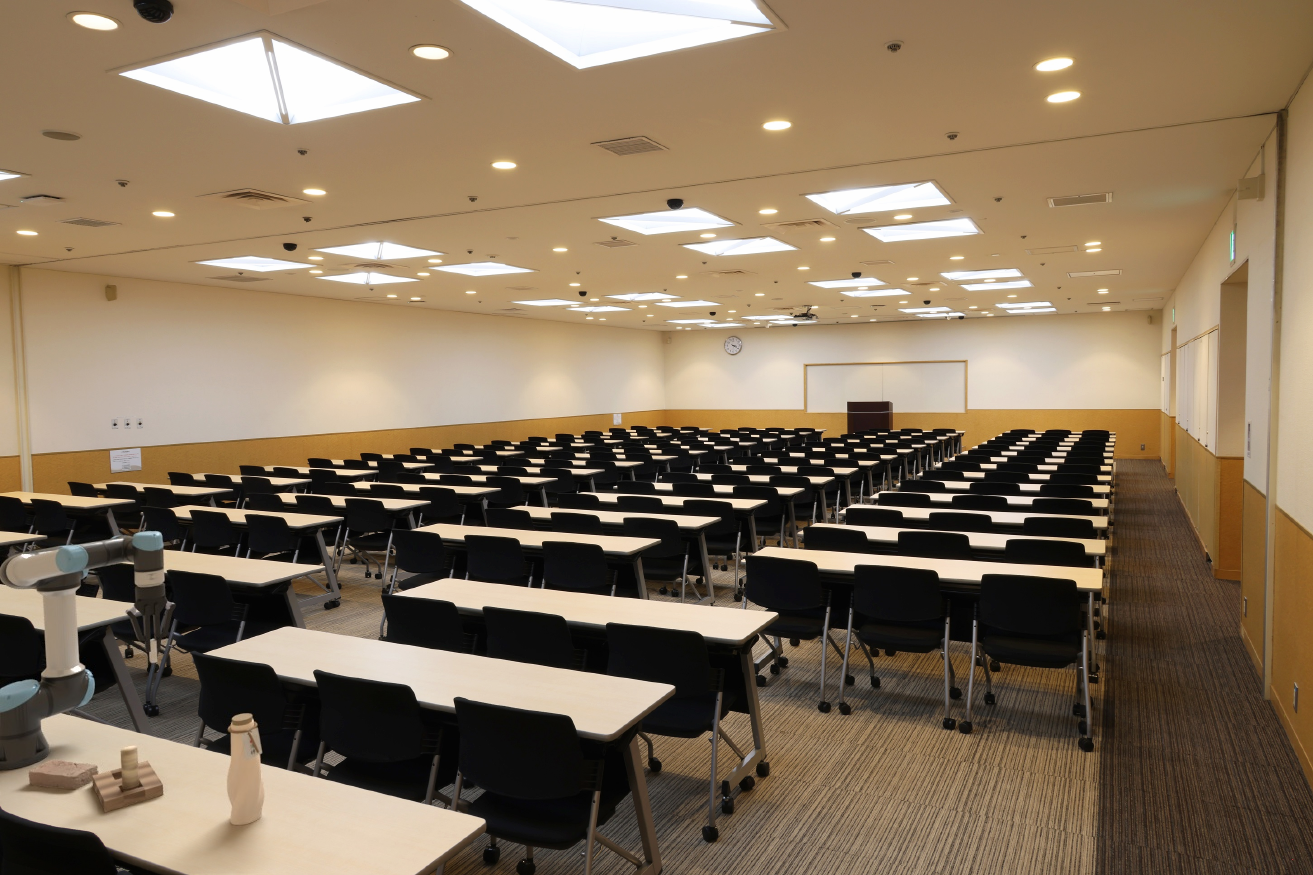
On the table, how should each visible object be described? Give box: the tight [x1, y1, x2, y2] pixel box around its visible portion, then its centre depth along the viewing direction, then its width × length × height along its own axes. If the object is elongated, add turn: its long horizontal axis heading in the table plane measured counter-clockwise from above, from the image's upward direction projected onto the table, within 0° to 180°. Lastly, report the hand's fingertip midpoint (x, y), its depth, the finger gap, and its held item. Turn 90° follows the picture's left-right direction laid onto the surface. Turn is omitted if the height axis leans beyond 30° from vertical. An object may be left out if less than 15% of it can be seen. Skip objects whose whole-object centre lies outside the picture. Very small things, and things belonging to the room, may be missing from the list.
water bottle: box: [226, 713, 265, 826], centre depth 221 cm, size 10×9×28 cm
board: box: [92, 760, 164, 813], centre depth 237 cm, size 20×14×3 cm
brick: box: [28, 758, 99, 790], centre depth 243 cm, size 17×8×5 cm, turn 80°
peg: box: [120, 745, 139, 792], centre depth 233 cm, size 4×4×14 cm
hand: (153, 661), depth 245 cm, fingers closed
